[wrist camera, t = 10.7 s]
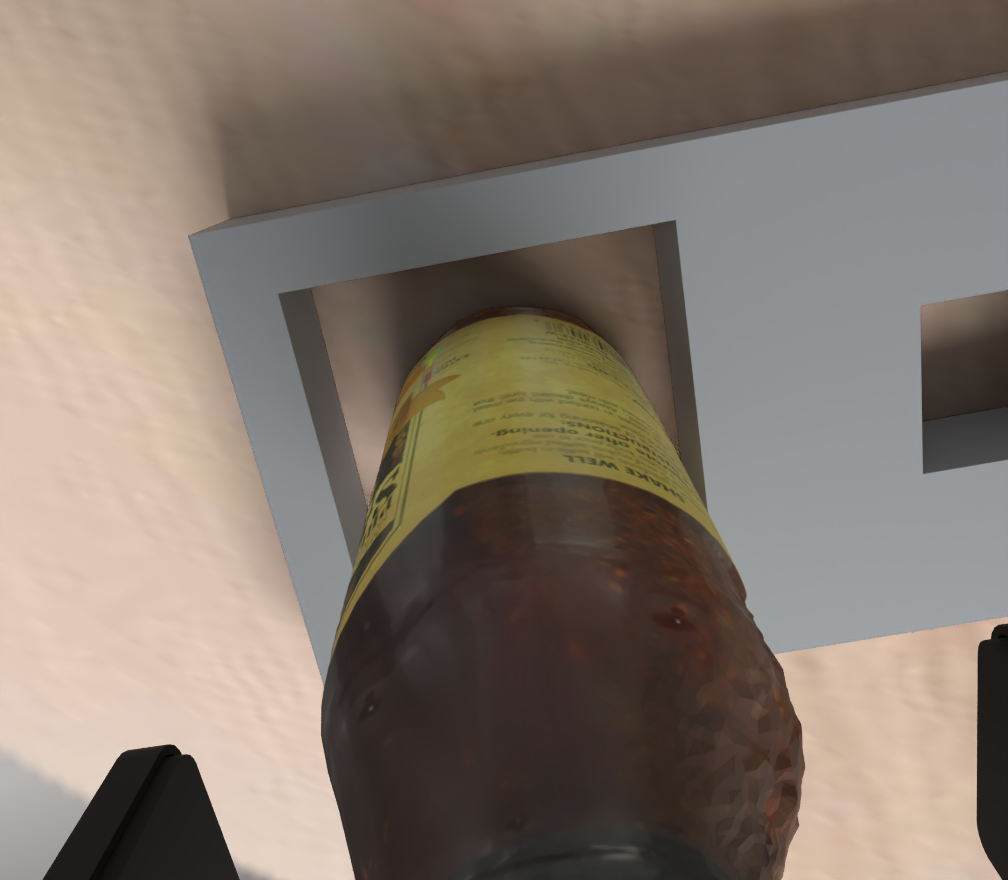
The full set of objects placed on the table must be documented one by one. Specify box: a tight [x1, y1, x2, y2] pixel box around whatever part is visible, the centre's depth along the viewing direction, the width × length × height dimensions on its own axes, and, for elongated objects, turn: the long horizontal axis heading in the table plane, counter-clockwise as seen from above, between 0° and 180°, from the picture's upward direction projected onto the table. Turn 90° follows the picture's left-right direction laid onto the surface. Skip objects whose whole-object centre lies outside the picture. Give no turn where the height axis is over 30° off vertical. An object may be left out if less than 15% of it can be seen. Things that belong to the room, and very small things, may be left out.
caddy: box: [188, 71, 1008, 685], centre depth 21 cm, size 23×12×3 cm, turn 100°
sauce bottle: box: [321, 306, 805, 880], centre depth 14 cm, size 6×6×20 cm
